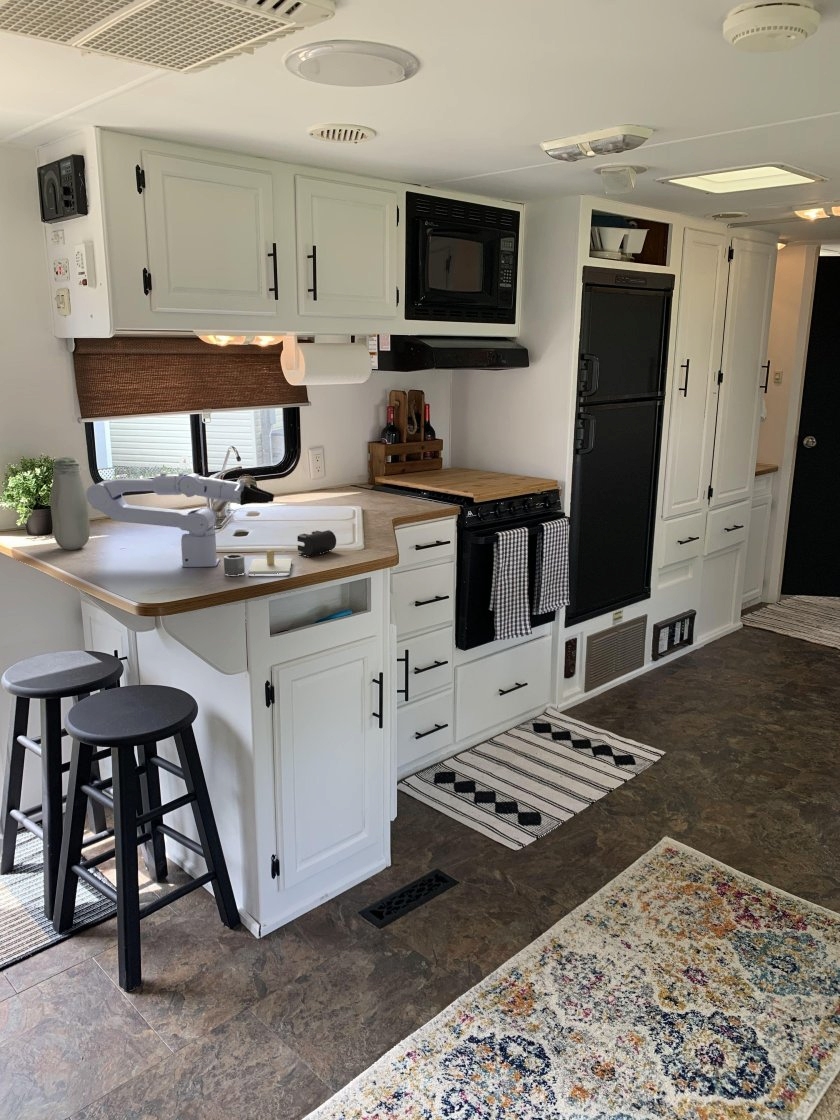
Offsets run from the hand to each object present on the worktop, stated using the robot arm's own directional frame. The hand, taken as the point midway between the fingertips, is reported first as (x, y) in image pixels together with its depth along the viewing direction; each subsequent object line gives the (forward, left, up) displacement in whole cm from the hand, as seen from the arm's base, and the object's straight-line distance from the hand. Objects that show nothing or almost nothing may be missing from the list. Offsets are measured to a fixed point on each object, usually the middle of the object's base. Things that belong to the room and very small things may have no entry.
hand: (271, 498), depth 238 cm
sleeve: (-10, -9, -19) cm, 24 cm away
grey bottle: (-62, +24, -19) cm, 69 cm away
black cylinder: (+12, +13, -20) cm, 26 cm away
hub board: (0, -5, -19) cm, 20 cm away
